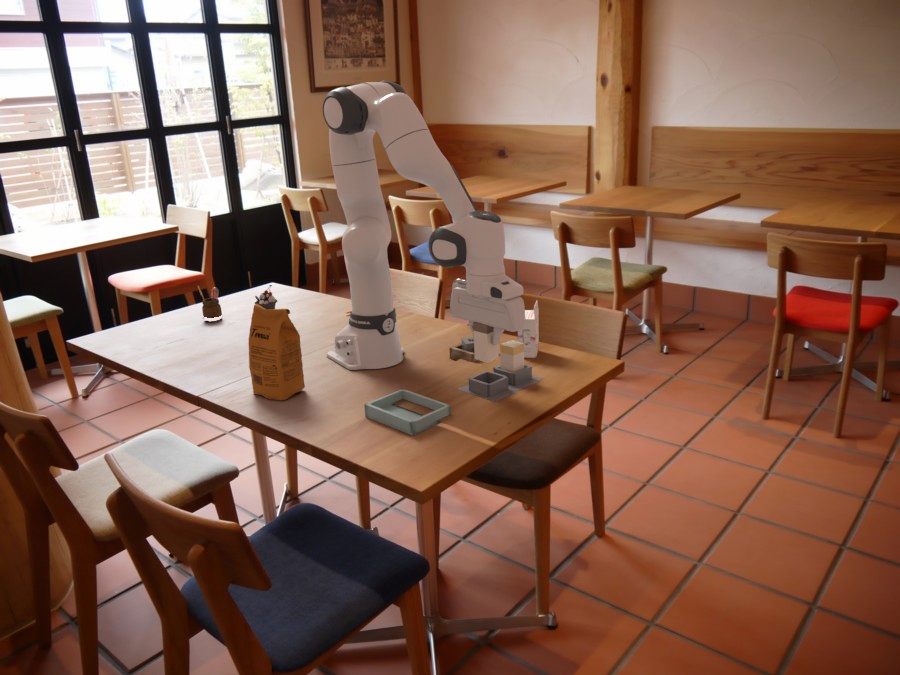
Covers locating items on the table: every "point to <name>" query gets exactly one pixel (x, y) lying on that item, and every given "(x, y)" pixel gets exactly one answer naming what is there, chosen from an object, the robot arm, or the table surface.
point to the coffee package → (274, 354)
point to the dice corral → (461, 353)
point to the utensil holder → (211, 306)
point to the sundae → (266, 300)
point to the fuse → (512, 356)
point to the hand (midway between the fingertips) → (486, 341)
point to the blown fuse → (484, 343)
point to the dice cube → (468, 344)
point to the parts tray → (406, 412)
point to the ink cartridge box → (530, 333)
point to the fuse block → (499, 382)
